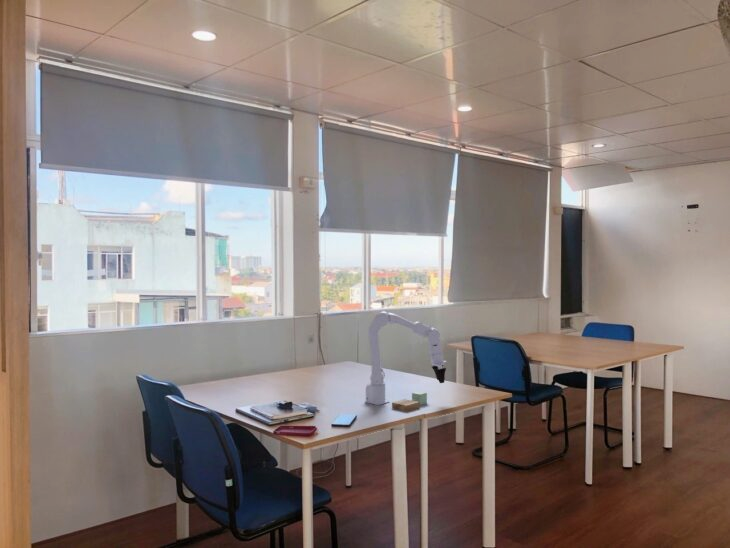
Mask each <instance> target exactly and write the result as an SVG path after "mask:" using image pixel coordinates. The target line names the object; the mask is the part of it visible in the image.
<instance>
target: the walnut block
mask: <svg viewBox="0 0 730 548" xmlns="http://www.w3.org/2000/svg"><path fill="white" fill-rule="evenodd" d="M420 406H421V405H419V402H417V401H412V399H406V398H405V399H400V400H396V401H392V402H391V409H394V410H398V411H402V412H406V413H407V412H410V411H413V410H414V411H415V410H417V409H420Z"/></svg>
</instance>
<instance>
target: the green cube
mask: <svg viewBox="0 0 730 548" xmlns="http://www.w3.org/2000/svg"><path fill="white" fill-rule="evenodd" d="M411 400H412V401H417V402H419V405H420V406H423V405H425V404H427V403H428V393H427V392H426V391H421V390H418V391H415V392H412V393H411Z"/></svg>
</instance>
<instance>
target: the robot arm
mask: <svg viewBox="0 0 730 548" xmlns="http://www.w3.org/2000/svg"><path fill="white" fill-rule="evenodd" d="M388 323H389V324H390V325H392V324H397V325H400V326H403V327H406V328H408V329H410V330H411V331H412V334H415V335H418V336H420V337H423V338H427V339H428V342H429V343H428V347H429V353H430V355H429V356H430V361H431V368H432V369H433V371H434V374H435V378H436V379H437V381H438V382H439V384H444V383H445V375H446V371H447V367H444V364H446V363H447V360H444V355H443V354H444V353H443V349H442V343H441V339H440V336H441V335H440V332H439V329H437V328H436V327H433V326H431V325H427V324H424V323H423V321H415V322H413V321H410V320H409V319H406V318H404V317H403V316H400V315H398V314H396V313H393V312H388V311H385V310H382V311H380V312H378V313H377V314H376V315H375V316H374V317H373V319H372V321H371V323H370V325H369V326H368V329H367V330H368V341H369V352H370V361H371V374H370V378H369V379H370V382H369V383H368V384H366V387H365V400H364V403H368V404H372V405H375V406H380V405H385V404H387V403H390V401H389V400H386V382H385V381H384V379H385V372H384V370H383V365H382V359H381V357H382V356H381V350H380V349H381V348H380V336H379V331H380V330H381V329H382V328H384V327H385V326H386V325H388Z"/></svg>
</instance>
